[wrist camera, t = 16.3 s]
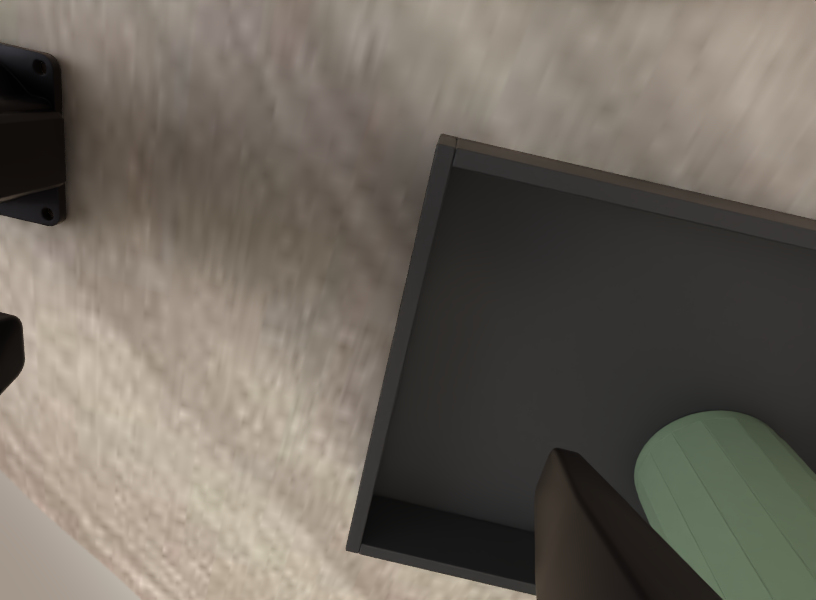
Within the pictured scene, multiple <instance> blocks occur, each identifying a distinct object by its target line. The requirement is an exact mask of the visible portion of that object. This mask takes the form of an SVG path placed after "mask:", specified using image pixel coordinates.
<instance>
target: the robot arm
mask: <svg viewBox="0 0 816 600" xmlns="http://www.w3.org/2000/svg"><path fill="white" fill-rule="evenodd" d="M42 62H44V64H45V65H46V68H47V70H46V73H44V72H43V71H42V69H41V63H42ZM65 182H66V165H65V138H64V119H63V114H62V88H61V69H60V65H59V63H58V61H57V60H56V59H55V58H54V57H53V56H52V55H50V54H48V53H44V52H39V51H35V50H31V49H26V48H22V47H18V46H14V45H9V44H5V43H1V42H0V215H3V216H8V217H12V218H16V219H21V220H25V221H29V222H34V223H38V224H42V225H46V226H54V225H57V224H60V223H62V222H64V220H65V219H66V193H65ZM48 209H50V210H51V211H52V212H53V215H54V216H53V217H52V216H51V215H50V214H49V211H48ZM24 362H25V353H24V339H23V326H22V323H21V321H20V319H19V318H18V317H16V316H14V315H10V314H5V313H1V312H0V395H1V394H2V393H3V392H4V390H5V389H6V388H7V387H8V386H9V385H10V384H11V383H12V382H13V381H14V380H15V379H16V377H17V376H18V375H19V374H20V372H21V371H22V369H23V366H24ZM534 516H535V583H536V596H537V600H723V599H722V598H721V597H720V596H719V595H718V594H717V593H716V592H715V591H714V590H713V589H712V588H711V587H710V586H709V585H708V584H707V583H706V582H705V581H704V580H703V579H702V578H701V577H700V576H699V575H698V574H697V573H696V572H695V571H694V570H693V569H692V568H691V567H690V565H689V564H688V563H687V562H686V561H685V560H684V559H683V558H682V557H681V556H680V555H679V554H678V553H677V552H676V551H675V550H674V549H673V548H672V547H671V546H670V545H669V544H668V543H667V542H666V541H665V540H664V539H663V538H662V537H661V536H660V535H659V534H658V533H657V532H656V531H655V530H654V529H653V528H652V527H651V526H650V525H649V524H648V523H647V522H646V521H645V520H644V519H643V518H642V517H641V516H640V515H639V514H638V513H637V512H636V511H635V509H634V508H633V507H632V506H631V505H630V504H629V503H628V502H627V501H626V500H625V499H624V498H623V497H622V496H621V495H620V494H619V493H618V492H617V491H616V490H615V489H614V488H613V487H612V486H611V485H610V484H609V483H608V482H607V481H606V480H605V479H604V478H603V477H602V476H601V475H600V474H599V473H598V472H597V471H596V470H595V469H594V468H593V467H592V466H591V465H590V464H589V463H588V462H587V461H586V460H585V459H584V458H583V457H582V456H581V455H580V454H579V453H577V452H574V451H570V450H566V449H562V448H554V449H552V451H551V452H550V454H549V456H548V458H547V461H546V463H545V466H544V468H543V471H542V473H541V476H540V478H539V481H538V483H537V486H536V490H535V497H534Z"/></svg>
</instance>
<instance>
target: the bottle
mask: <svg viewBox="0 0 816 600" xmlns="http://www.w3.org/2000/svg"><path fill="white" fill-rule="evenodd" d="M634 482H635V487H636V490H637V493H638V497H639V500H640V502H641V505H642V507H643V509H644V512H645V514H646V516H647V519H648V521H649V523H650V526H651V527H652V528H653V529H654V530H655V531H656V532H657V533H658V534H659V535H660V536H661V537H662V538H663V539H664V540H665V541H666V542H667V543H668V544H669V545H670V546H671V547H672V548H673V549H674V550H675V551H676V552H677V553H678V554H679V555H680V556H681V557H682V558H683V559H684V560H685V561H686V562H687V563H688V564H689V565H690V567H691V568H692V569H693V570H694V571H695V572H696V573H697V574H698V575H699V576H700V577H701V578H702V579H703V580H704V581H705V582H706V583H707V584H708V585H709V586H710V587H711V588H712V589H713V590H714V591H715V592H716V593H717V594H718V595H719V596H720V597H721V598H722V599H723V600H816V474H815V473H814V472H813V471H812V470H811V469H810V468H809V467H808V466H807V464H806V463H805V462H804V461H803V460H802V459H801V458H800V457H799V456H798V455H797V454H796V452H795V451H794V450H793V449H792V448H791V447H790V446H789V445H788V444H787V443H786V441H784V440H783V439H782V438H780V437H779V436H778V435H777V434H776V432H775V431H774V430H773V429H771V428H770V427H769V426H768V425H767V424H765V423H764V422H762V421H760V420H758V419H756V418H754V417H752V416H749V415H746V414H743V413H739V412H733V411H723V410H718V411H705V412H699V413H695V414H691V415H688V416H685V417H682V418H680V419H678V420H675V421H673V422H671V423H670V424H668V425H666V426H665V427H663V428H662V429H661V430H659V431H658V432H657V433H655V434H654V435H653V436H652V437H651V438H650V439H649V440H648V442H647V443H646V444H645V446H644V447H643V449H642V450H641V452H640V454H639V456H638V459H637V461H636V465H635V470H634Z"/></svg>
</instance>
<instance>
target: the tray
mask: <svg viewBox="0 0 816 600" xmlns="http://www.w3.org/2000/svg"><path fill="white" fill-rule="evenodd" d="M718 410H723V411H733V412H739V413H743V414H746V415H749V416H752V417H754V418H756V419H758V420H760V421H762V422H764V423H765V424H767V425H768V426H769V427H770V428H771V429H773V430H774V431H775V432H776V434H777V435H778V436H779V437H780V438H782V439H783V440H784V441H786V443H787V444H788V445H789V446H790V447H791V448H792V449H793V450H794V451H795V452H796V454H797V455H798V456H799V457H800V458H801V459H802V460H803V461H804V462H805V463H806V464H807V466H808V467H809V468H810V469H811V470H812V471H813V472H814V473H815V474H816V220H813V219H809V218H805V217H800V216H796V215H792V214H787V213H783V212H779V211H774V210H770V209H766V208H761V207H757V206H753V205H748V204H744V203H740V202H735V201H731V200H727V199H722V198H718V197H714V196H709V195H705V194H701V193H696V192H692V191H688V190H683V189H679V188H675V187H670V186H666V185H662V184H657V183H653V182H649V181H644V180H640V179H636V178H631V177H627V176H623V175H618V174H614V173H610V172H605V171H601V170H597V169H592V168H588V167H584V166H579V165H575V164H571V163H566V162H562V161H558V160H553V159H549V158H545V157H540V156H536V155H532V154H527V153H523V152H519V151H514V150H510V149H506V148H501V147H497V146H493V145H488V144H484V143H480V142H475V141H471V140H467V139H462V138H458V137H454V136H449V135H445V134H441V135H440V138H439V140H438V143H437V145H436V150H435V154H434V159H433V163H432V168H431V172H430V176H429V181H428V185H427V190H426V194H425V199H424V203H423V207H422V212H421V216H420V221H419V225H418V230H417V234H416V239H415V243H414V247H413V252H412V256H411V261H410V265H409V270H408V274H407V278H406V283H405V287H404V292H403V296H402V301H401V305H400V310H399V314H398V318H397V323H396V327H395V332H394V336H393V341H392V345H391V349H390V354H389V358H388V363H387V367H386V372H385V376H384V381H383V385H382V389H381V394H380V398H379V403H378V407H377V412H376V416H375V420H374V425H373V429H372V434H371V438H370V443H369V447H368V452H367V456H366V460H365V465H364V469H363V474H362V478H361V483H360V487H359V491H358V496H357V500H356V505H355V509H354V514H353V518H352V523H351V527H350V531H349V536H348V540H347V545H346V551H350V552H354V553H359V554H362V555H366V556H370V557H374V558H379V559H383V560H387V561H391V562H396V563H400V564H404V565H408V566H413V567H417V568H421V569H426V570H430V571H434V572H438V573H443V574H447V575H451V576H455V577H460V578H464V579H468V580H472V581H477V582H481V583H485V584H489V585H494V586H498V587H502V588H506V589H511V590H515V591H519V592H523V593H528V594H532V595H536V583H535V516H534V497H535V490H536V486H537V483H538V481H539V478H540V476H541V473H542V471H543V468H544V466H545V463H546V461H547V458H548V456H549V454H550V452H551V451H552V449H554V448H562V449H566V450H570V451H574V452H577V453H579V454H580V455H581V456H582V457H583V458H584V459H585V460H586V461H587V462H588V463H589V464H590V465H591V466H592V467H593V468H594V469H595V470H596V471H597V472H598V473H599V474H600V475H601V476H602V477H603V478H604V479H605V480H606V481H607V482H608V483H609V484H610V485H611V486H612V487H613V488H614V489H615V490H616V491H617V492H618V493H619V494H620V495H621V496H622V497H623V498H624V499H625V500H626V501H627V502H628V503H629V504H630V505H631V506H632V507H633V508H634V509H635V511H636V512H637V513H638V514H639V515H640V516H641V517H642V518H643V519H644V520H645V521H646V522H647V523H648V524H649V525H650V523H649V521H648V519H647V516H646V514H645V512H644V509H643V507H642V505H641V502H640V500H639V497H638V493H637V490H636V487H635V482H634V470H635V465H636V461H637V459H638V456H639V454H640V452H641V450H642V449H643V447H644V446H645V444H646V443H647V442H648V440H649V439H650V438H651V437H652V436H653V435H654V434H655V433H657V432H658V431H659V430H661V429H662V428H663V427H665V426H666V425H668V424H670V423H671V422H673V421H675V420H678V419H680V418H682V417H685V416H688V415H691V414H695V413H699V412H705V411H718Z"/></svg>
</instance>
